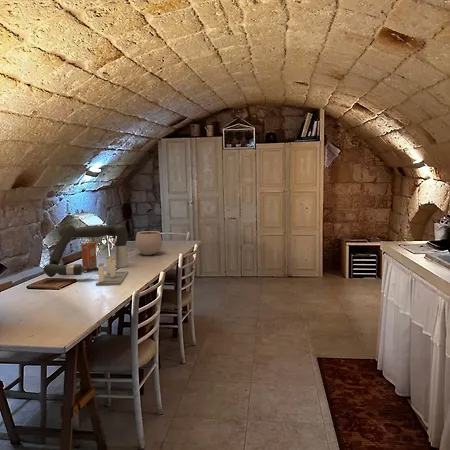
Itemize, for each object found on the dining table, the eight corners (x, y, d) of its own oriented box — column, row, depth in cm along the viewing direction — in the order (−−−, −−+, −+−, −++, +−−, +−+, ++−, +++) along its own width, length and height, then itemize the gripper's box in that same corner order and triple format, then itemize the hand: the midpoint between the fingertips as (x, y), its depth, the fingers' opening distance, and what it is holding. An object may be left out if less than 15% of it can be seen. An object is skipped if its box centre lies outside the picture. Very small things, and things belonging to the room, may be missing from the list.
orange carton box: (98, 268, 338) (88, 272, 324) (90, 268, 340) (80, 272, 325) (97, 241, 336) (87, 244, 321) (89, 241, 337) (79, 244, 323)
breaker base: (95, 285, 284) (94, 265, 282) (106, 273, 319) (105, 255, 317) (120, 285, 285) (119, 264, 283) (128, 273, 320) (127, 255, 318)
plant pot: (163, 256, 386) (162, 223, 383) (136, 257, 381) (135, 224, 378) (161, 251, 409) (160, 220, 406) (135, 253, 404) (134, 221, 401)
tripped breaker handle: (110, 277, 299) (109, 260, 298) (111, 275, 304) (110, 259, 303) (114, 277, 299) (113, 260, 298) (115, 275, 304) (114, 259, 303)
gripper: (71, 266, 292) (97, 265, 293) (76, 262, 305) (101, 261, 306) (71, 277, 293) (97, 276, 294) (77, 272, 306) (101, 272, 307)
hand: (99, 269), depth 300 cm, fingers closed
